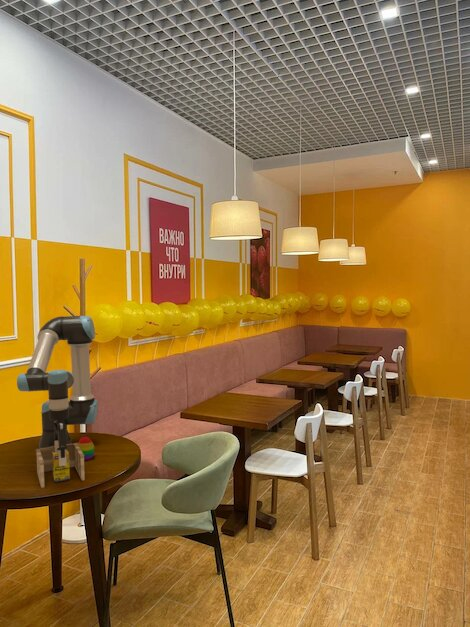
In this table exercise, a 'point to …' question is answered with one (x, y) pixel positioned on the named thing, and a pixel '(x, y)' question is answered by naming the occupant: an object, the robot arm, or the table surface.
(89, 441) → the decorative egg
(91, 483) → the table surface
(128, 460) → the table surface
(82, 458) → the brown wooden frame
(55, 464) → the supplement box
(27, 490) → the table surface
